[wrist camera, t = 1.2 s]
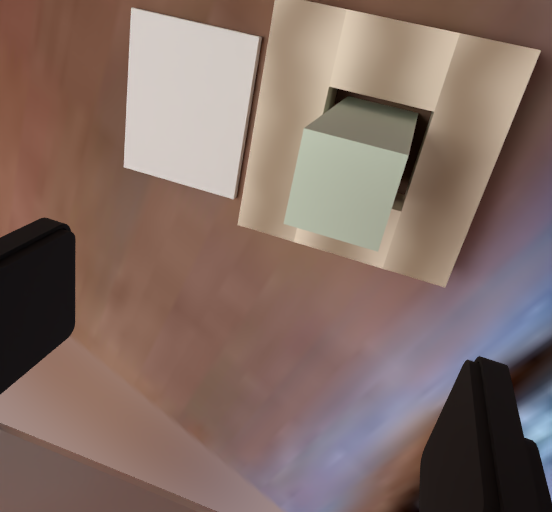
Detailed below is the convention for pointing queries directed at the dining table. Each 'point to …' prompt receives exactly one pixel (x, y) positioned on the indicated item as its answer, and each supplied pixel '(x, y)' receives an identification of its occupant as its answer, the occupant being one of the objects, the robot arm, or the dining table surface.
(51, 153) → the dining table surface
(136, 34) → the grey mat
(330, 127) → the sage block
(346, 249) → the square hole frame
